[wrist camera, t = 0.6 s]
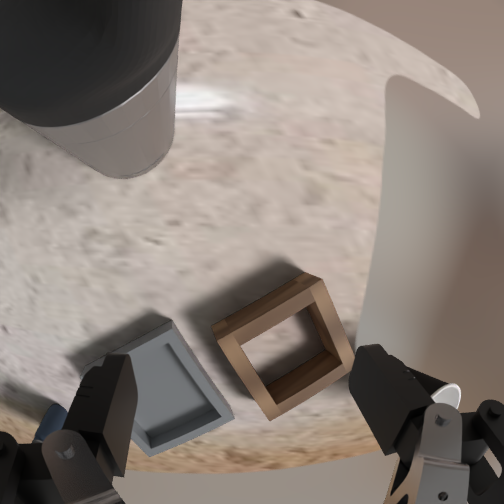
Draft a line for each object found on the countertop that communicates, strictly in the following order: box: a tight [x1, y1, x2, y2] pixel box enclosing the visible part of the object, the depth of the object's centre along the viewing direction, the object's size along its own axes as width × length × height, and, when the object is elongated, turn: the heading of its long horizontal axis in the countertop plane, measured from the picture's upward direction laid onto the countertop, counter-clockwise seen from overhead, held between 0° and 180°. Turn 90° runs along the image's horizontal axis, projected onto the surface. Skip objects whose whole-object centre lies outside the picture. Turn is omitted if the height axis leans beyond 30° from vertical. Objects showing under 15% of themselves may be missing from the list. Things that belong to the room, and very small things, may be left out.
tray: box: [80, 320, 235, 457], centre depth 28 cm, size 12×11×3 cm
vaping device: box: [32, 404, 68, 443], centre depth 21 cm, size 3×5×12 cm, turn 141°
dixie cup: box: [406, 366, 461, 409], centre depth 31 cm, size 8×8×11 cm
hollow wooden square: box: [211, 272, 355, 421], centre depth 30 cm, size 11×11×4 cm
